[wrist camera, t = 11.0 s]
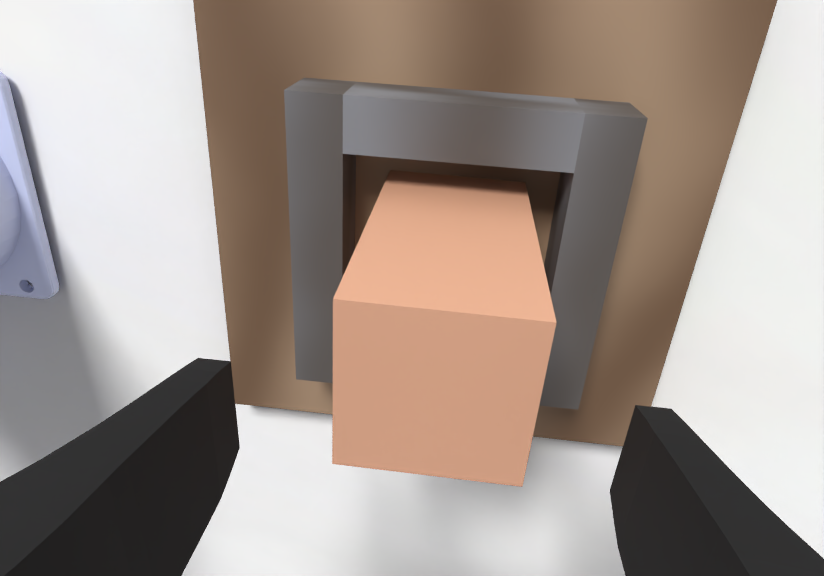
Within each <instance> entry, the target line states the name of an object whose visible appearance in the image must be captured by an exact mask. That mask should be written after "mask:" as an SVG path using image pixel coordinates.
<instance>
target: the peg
mask: <svg viewBox="0 0 824 576" xmlns="http://www.w3.org/2000/svg"><path fill="white" fill-rule="evenodd" d="M556 323H557V322H556V318H555V313H554V309H553V304H552V300H551V295H550V291H549V286H548V282H547V277H546V273H545V269H544V264H543V260H542V255H541V251H540V246H539V242H538V237H537V233H536V228H535V224H534V219H533V215H532V210H531V206H530V201H529V197H528V192H527V188H526V183H525V182H516V181H505V180H494V179H483V178H473V177H462V176H451V175H440V174H429V173H419V172H408V171H397V170H390V172H389V174H388V176H387V179H386V181H385V183H384V185H383V188H382V190H381V192H380V194H379V197H378V199H377V201H376V203H375V206H374V208H373V210H372V212H371V214H370V217H369V219H368V221H367V223H366V226H365V228H364V230H363V232H362V235H361V237H360V239H359V241H358V244H357V246H356V248H355V250H354V253H353V255H352V257H351V259H350V262H349V264H348V266H347V268H346V271H345V273H344V275H343V277H342V280H341V282H340V284H339V286H338V289H337V291H336V293H335V295H334V298H333V449H332V464H338V465H347V466H355V467H363V468H372V469H380V470H388V471H396V472H405V473H413V474H421V475H430V476H438V477H446V478H454V479H463V480H471V481H479V482H487V483H496V484H504V485H512V486H521V487H522V486H523V481H524V476H525V471H526V466H527V462H528V457H529V452H530V447H531V442H532V438H533V433H534V428H535V423H536V419H537V414H538V409H539V404H540V399H541V395H542V390H543V385H544V380H545V375H546V371H547V366H548V361H549V356H550V352H551V347H552V342H553V337H554V332H555V328H556Z"/></svg>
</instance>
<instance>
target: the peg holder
mask: <svg viewBox="0 0 824 576" xmlns="http://www.w3.org/2000/svg"><path fill="white" fill-rule="evenodd" d="M193 2H194V12H195V22H196V31H197V41H198V51H199V60H200V70H201V80H202V89H203V99H204V109H205V118H206V128H207V138H208V147H209V157H210V167H211V177H212V186H213V196H214V206H215V215H216V225H217V235H218V244H219V254H220V264H221V273H222V283H223V293H224V302H225V312H226V322H227V331H228V341H229V351H230V360H231V368H232V378H233V388H234V398H235V404H244V405H253V406H262V407H271V408H280V409H289V410H298V411H307V412H316V413H325V414H333V298H334V295H335V293H336V291H337V289H338V286H339V284H340V282H341V280H342V277H343V275H344V273H345V271H346V268H347V266H348V264H349V262H350V259H351V257H352V255H353V253H354V250H355V248H356V246H357V244H358V241H359V239H360V237H361V235H362V232H363V230H364V228H365V226H366V223H367V221H368V219H369V217H370V214H371V212H372V210H373V208H374V206H375V203H376V201H377V199H378V197H379V194H380V192H381V190H382V188H383V185H384V183H385V181H386V179H387V176H388V174H389V172H390V170H397V171H408V172H419V173H429V174H440V175H451V176H462V177H473V178H483V179H494V180H505V181H516V182H525V183H526V188H527V192H528V197H529V201H530V206H531V210H532V215H533V219H534V224H535V228H536V233H537V237H538V242H539V246H540V251H541V255H542V260H543V264H544V269H545V273H546V277H547V282H548V286H549V291H550V295H551V300H552V304H553V309H554V313H555V318H556V322H557V323H556V328H555V332H554V337H553V342H552V347H551V352H550V356H549V361H548V366H547V371H546V375H545V380H544V385H543V390H542V395H541V399H540V404H539V409H538V414H537V419H536V423H535V428H534V433H533V436H534V437H543V438H552V439H561V440H570V441H579V442H588V443H597V444H606V445H615V446H623V445H624V442H625V438H626V435H627V431H628V428H629V425H630V421H631V418H632V415H633V411H634V408H635V405H640V406H649V407H651V405H652V401H653V398H654V395H655V392H656V389H657V385H658V382H659V379H660V376H661V372H662V369H663V366H664V363H665V360H666V356H667V353H668V350H669V347H670V344H671V340H672V337H673V334H674V331H675V327H676V324H677V321H678V318H679V315H680V311H681V308H682V305H683V302H684V299H685V295H686V292H687V289H688V286H689V282H690V279H691V276H692V273H693V270H694V266H695V263H696V260H697V257H698V254H699V250H700V247H701V244H702V241H703V237H704V234H705V231H706V228H707V225H708V221H709V218H710V215H711V212H712V209H713V205H714V202H715V199H716V196H717V192H718V189H719V186H720V183H721V180H722V176H723V173H724V170H725V167H726V164H727V160H728V157H729V154H730V151H731V147H732V144H733V141H734V138H735V135H736V131H737V128H738V125H739V122H740V119H741V115H742V112H743V109H744V106H745V102H746V99H747V96H748V93H749V90H750V86H751V83H752V80H753V77H754V74H755V70H756V67H757V64H758V61H759V57H760V54H761V51H762V48H763V45H764V41H765V38H766V35H767V32H768V29H769V25H770V22H771V19H772V16H773V12H774V9H775V6H776V3H777V0H193Z"/></svg>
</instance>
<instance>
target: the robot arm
mask: <svg viewBox="0 0 824 576" xmlns="http://www.w3.org/2000/svg"><path fill="white" fill-rule="evenodd" d="M27 281H29V282H30V283H32V285H33V287H32V286H31V285H29V284H28V282H27ZM58 290H59V282H58V278H57V274H56V270H55V266H54V262H53V258H52V254H51V250H50V246H49V242H48V238H47V234H46V230H45V226H44V222H43V218H42V214H41V210H40V206H39V202H38V198H37V194H36V190H35V186H34V182H33V178H32V173H31V169H30V165H29V161H28V157H27V153H26V149H25V145H24V141H23V137H22V133H21V129H20V125H19V121H18V117H17V113H16V109H15V105H14V101H13V97H12V93H11V89H10V85H9V82H8V80H7V78H6V77H5V75H4V74H3V73H2V72H1V71H0V295H9V296H19V297H29V298H39V299H49V298H51V297H52V296H54V295H55V294H56V293H57V292H58ZM239 448H240V447H239V437H238V427H237V417H236V408H235V398H234V388H233V378H232V368H231V362H230V361H221V360H212V359H202V358H198V359H196V360H194V361H193V362H191V363H189V364H188V365H186V366H185V367H183V368H182V369H180V370H179V371H177V372H176V373H174V374H173V375H171V376H170V377H168V378H167V379H166V380H164V381H163V382H161V383H160V384H158V385H157V386H155V387H154V388H152V389H151V390H149V391H148V392H147V393H145V394H144V395H142V396H141V397H139V398H138V399H136V400H135V401H133V402H132V403H130V404H129V405H127V406H126V407H124V408H123V409H121V410H120V411H118V412H117V413H115V414H114V415H112V416H111V417H109V418H108V419H106V420H105V421H103V422H101V423H100V424H98V425H97V426H95V427H93V428H92V429H90V430H89V431H87V432H85V433H84V434H82V435H80V436H79V437H77V438H75V439H74V440H72V441H70V442H69V443H67V444H66V445H64V446H62V447H61V448H59V449H57V450H56V451H54V452H52V453H51V454H49V455H48V456H46V457H44V458H43V459H41V460H39V461H37V462H36V463H34V464H32V465H30V466H29V467H27V468H25V469H23V470H21V471H19V472H18V473H16V474H14V475H12V476H10V477H8V478H7V479H5V480H3V481H1V482H0V576H181V575H182V573H183V571H184V569H185V568H186V566H187V564H188V562H189V560H190V558H191V556H192V554H193V552H194V550H195V548H196V546H197V544H198V543H199V541H200V539H201V537H202V535H203V533H204V531H205V529H206V527H207V525H208V523H209V521H210V519H211V517H212V515H213V513H214V511H215V509H216V507H217V505H218V503H219V501H220V499H221V497H222V494H223V492H224V489H225V487H226V484H227V481H228V479H229V476H230V473H231V470H232V468H233V465H234V462H235V459H236V456H237V453H238V450H239ZM610 495H611V502H612V510H613V518H614V525H615V531H616V537H617V544H618V549H619V553H620V556H621V560H622V564H623V568H624V571H625V575H626V576H824V559H823V558H822V557H821V556H820V555H819V554H818V553H817V552H816V551H815V550H814V549H812V548H811V547H810V546H809V545H808V544H807V543H806V542H805V541H804V540H802V539H801V538H800V537H799V536H798V535H797V534H796V533H795V532H794V531H793V530H791V529H790V528H789V527H788V526H787V525H786V524H785V523H784V522H783V521H782V520H781V519H780V518H779V517H778V516H777V515H776V514H775V513H773V512H772V511H771V510H770V509H769V508H768V507H767V506H766V505H765V504H764V503H763V502H762V501H761V500H760V499H759V498H758V497H757V496H756V495H755V494H754V493H753V492H752V491H751V490H750V489H749V488H748V487H747V486H746V485H745V484H744V483H743V482H742V481H741V480H740V479H739V478H738V477H737V476H736V475H735V474H734V473H733V472H732V471H731V470H730V469H729V468H728V467H727V466H726V465H725V464H724V463H723V461H722V460H721V459H720V458H719V457H718V456H717V455H716V454H715V453H714V452H713V451H712V450H711V449H710V448H709V447H708V446H707V445H706V444H705V443H704V442H703V441H702V440H701V439H700V437H699V436H698V435H697V434H696V433H695V432H694V431H693V430H692V429H691V428H690V427H689V426H688V425H687V424H686V423H685V422H684V421H683V420H682V419H681V418H680V417H679V416H678V415H677V414H676V413H675V412H674V411H673V410H672V409H668V408H658V407H649V406H640V405H635V408H634V411H633V415H632V418H631V421H630V425H629V428H628V431H627V435H626V438H625V442H624V445H623V448H622V452H621V455H620V458H619V462H618V465H617V468H616V472H615V475H614V478H613V482H612V485H611V489H610Z"/></svg>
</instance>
